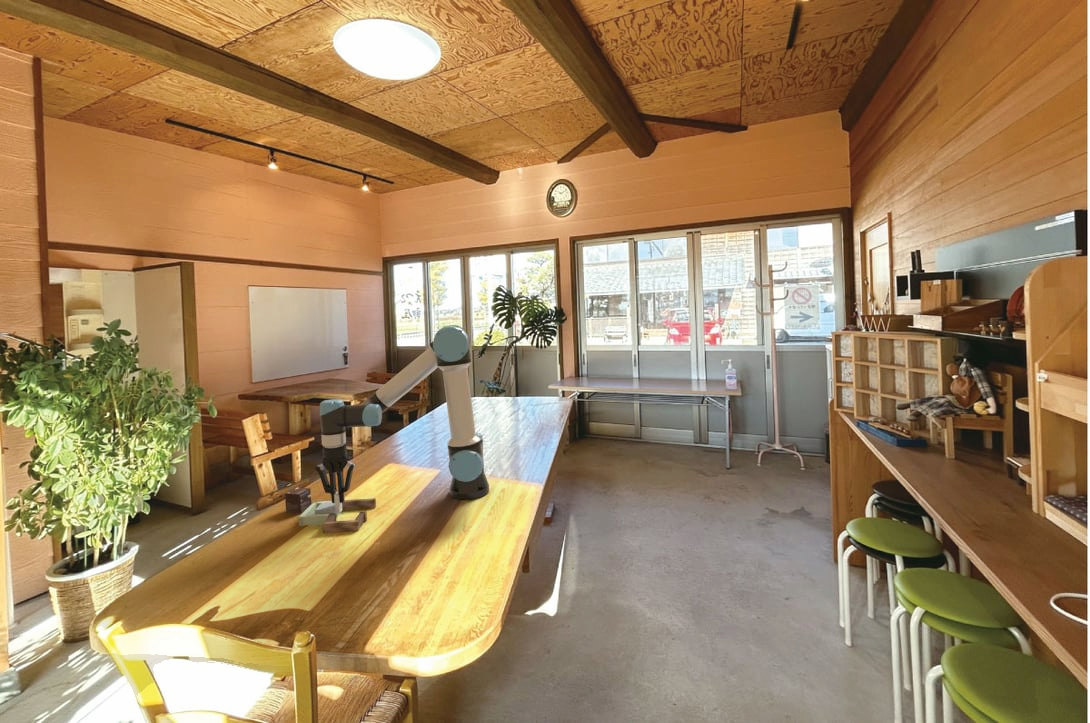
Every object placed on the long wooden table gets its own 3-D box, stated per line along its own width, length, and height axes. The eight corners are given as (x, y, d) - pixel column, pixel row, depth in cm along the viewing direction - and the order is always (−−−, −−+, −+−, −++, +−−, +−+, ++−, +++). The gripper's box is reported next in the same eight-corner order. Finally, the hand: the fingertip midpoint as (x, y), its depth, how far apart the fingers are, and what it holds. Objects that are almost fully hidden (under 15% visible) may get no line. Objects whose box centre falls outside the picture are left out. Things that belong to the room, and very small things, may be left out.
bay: (341, 508, 168) (341, 500, 168) (328, 524, 155) (328, 515, 155) (314, 509, 167) (313, 501, 167) (298, 526, 154) (298, 517, 154)
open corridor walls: (376, 506, 169) (375, 498, 169) (359, 530, 150) (359, 521, 149) (341, 508, 168) (341, 500, 168) (321, 533, 149) (320, 524, 148)
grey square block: (340, 512, 165) (339, 501, 164) (333, 520, 159) (333, 508, 158) (322, 514, 164) (321, 503, 164) (315, 521, 158) (314, 510, 158)
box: (300, 514, 164) (299, 494, 163) (285, 513, 165) (284, 493, 164) (312, 507, 170) (310, 488, 169) (297, 506, 171) (296, 487, 170)
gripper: (357, 441, 163) (361, 506, 166) (318, 442, 162) (323, 508, 165) (350, 447, 156) (354, 514, 158) (310, 448, 155) (315, 517, 157)
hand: (338, 511), depth 161 cm, fingers closed
